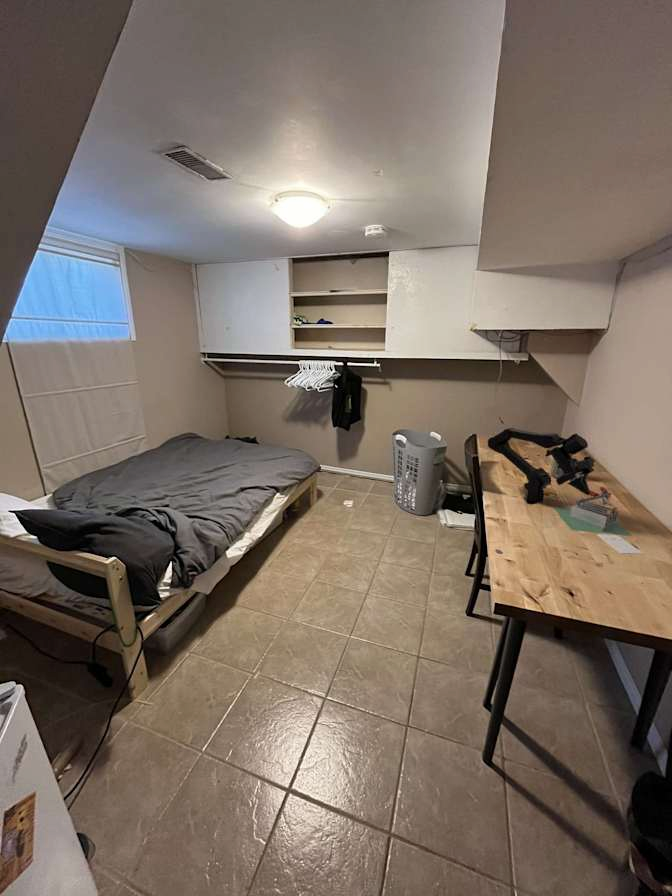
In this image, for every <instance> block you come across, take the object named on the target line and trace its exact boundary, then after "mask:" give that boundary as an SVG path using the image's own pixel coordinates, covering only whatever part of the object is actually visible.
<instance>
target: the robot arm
mask: <svg viewBox="0 0 672 896" xmlns="http://www.w3.org/2000/svg"><path fill="white" fill-rule="evenodd" d="M511 439H516V440H521V441H525V442H531V443H534V444H535V445H536V446H539V447H541V448H544V449H547V450H546V452H545V457H550V456H551V457H552V459H553V458H554V460H555V461H556V462H557V464H558V465H559V466H557V468H558V469H559V468H561V470H562V471H563V472H564V475H562V476H560V477H558V478H556V480H555V482H556V483H557V485H558V486H561V485H563V484H565V483H566V482H567V483H566V484H567V485H570V486H571V487H573V488H575V489H577V490H578V491H579V492H581V493H583V494H585V495H586V496H589V495H588V494H590V491H591V490H590V487H589V484H588V482H587V479H588V476H589V474H590V473H591V474H592V473H593V472H595V469H594V467H595V464H594V463H595V462H596V460H595V459H594V458H593V457H592V456H590V455H588V456H585V457H583V459H581V460H578V459H577V458H575V457H574V458H573V455H576V454H578V453H580V452H581V451H582V452H583V450H585V449H586V448H588V445H589V444H588V442H587V440H586V439H585V438H584V437H582V436H581V435H579V434H578V433H573V434H572V435H570V436H569V437H568V438H564V437H561V436H560V435H559V434H558V433H555V432H540V433H539V432H532V431H527V430H524V429H523V430H522V429H517V428H514V427H508V428H505V429H504V430H503V431H501V432H499V433H498V434H496V435H494V436H492V437H490V438H489V439H488V440H487V447H488V449H490V450H492V451H494V452H495V453H498V454H500V455H503V456H504V457H505V459H507V460H508V461H509V462H510V463H512V464H513V465H514V466H515V467H516V468H518V470H519V471H521V473H523V474H524V475H525V476H526V479H527V482H525V483H524V484H523V487H524V489H525V494H524V496H523V499H524V501H525V502H526V504H529V505H530V504H531V505H537V504H538V503H541V502H544V499H545V493H544V489H547V487H548V486H550V485H551V484H552V476H551V475H550V472H547V471H546V470H545V469H544V468H543V467H538V468H536V467H534V466H533V465H532V464H531V463H529V462H528V461H527V460H526V459H525V458H524V457H523V456H521V455H520V454H519V453H518V452H517V451H515V450H514V449H513V448H512V447H511V446H510V442H509V441H511ZM559 445H563V446H561V447H560V448H559V447H556V446H559ZM551 448H553V449H551ZM570 454H572V457H571V456H570ZM589 490H590V491H589Z"/></svg>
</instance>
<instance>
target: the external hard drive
mask: <svg viewBox="0 0 672 896" xmlns="http://www.w3.org/2000/svg"><path fill="white" fill-rule="evenodd" d="M597 536H598V537H599V538H600V539H601V540H603V541H604V542H605V543H607V545H609V546H610V547H611V548H613V549H614V550H616V552H618V553H619V554H634V555H645V553H644V552H643V551H641V550H639V549H638V548H637V547H636V546H634V545H633V544H631V543H630V542H629V541H627V540H626V539H624V538H622V537H621V535H615V534H608V535H606V534H597Z"/></svg>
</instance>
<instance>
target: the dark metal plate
mask: <svg viewBox="0 0 672 896" xmlns="http://www.w3.org/2000/svg"><path fill="white" fill-rule="evenodd" d="M611 495H612V492H607V494H603V495H601V494H600V495H599V496H595V497H592V496H590V497H587V498H584V499H582V500H581V499H580V500H579V501H580V503H581V502H586V501H590V502H591V501H593V500H598V499H599V498H603V497H607V496H608V497H610V496H611ZM608 497H607V498H608Z"/></svg>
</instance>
